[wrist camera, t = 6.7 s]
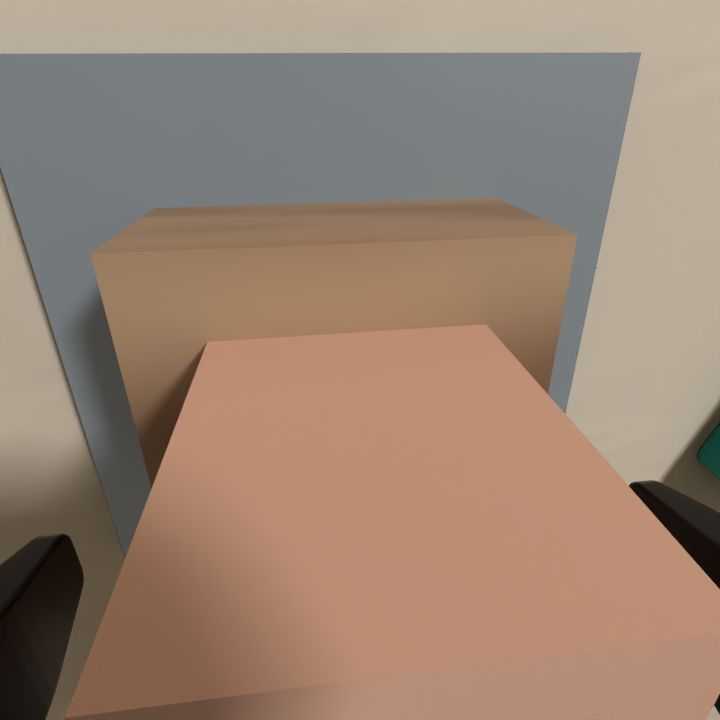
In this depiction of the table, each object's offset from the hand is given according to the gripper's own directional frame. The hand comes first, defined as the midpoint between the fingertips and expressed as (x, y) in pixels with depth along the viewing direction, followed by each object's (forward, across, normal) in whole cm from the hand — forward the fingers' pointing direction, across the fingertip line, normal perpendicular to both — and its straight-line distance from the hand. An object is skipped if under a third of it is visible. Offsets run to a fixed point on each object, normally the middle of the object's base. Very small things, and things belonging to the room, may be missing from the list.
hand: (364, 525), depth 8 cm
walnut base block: (+6, 0, 0) cm, 6 cm away
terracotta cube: (+2, 0, 0) cm, 2 cm away
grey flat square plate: (+7, 0, 0) cm, 7 cm away
